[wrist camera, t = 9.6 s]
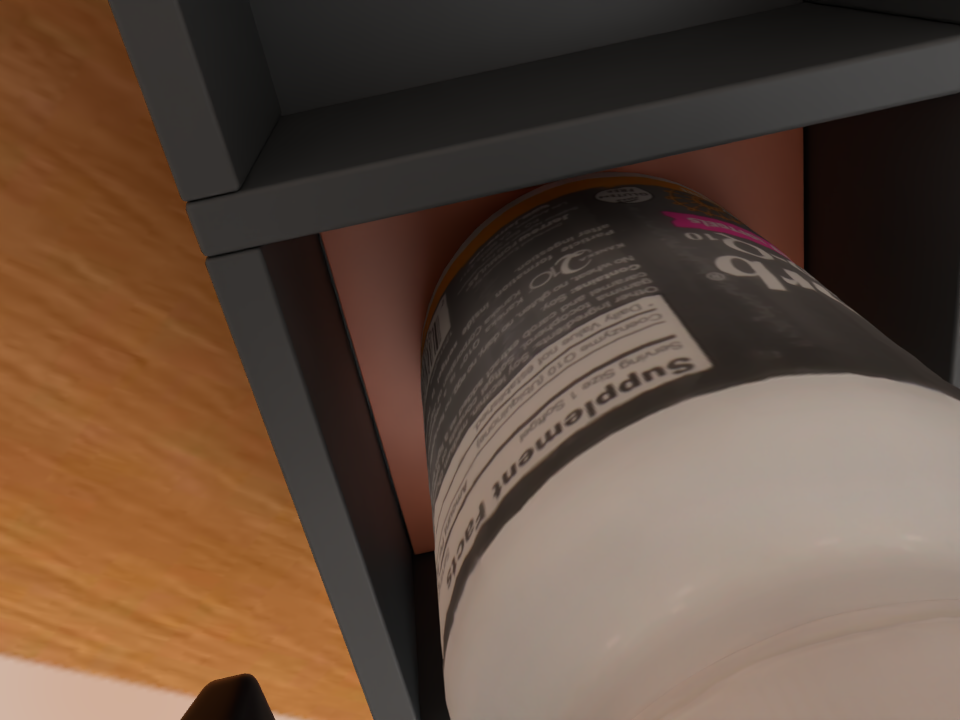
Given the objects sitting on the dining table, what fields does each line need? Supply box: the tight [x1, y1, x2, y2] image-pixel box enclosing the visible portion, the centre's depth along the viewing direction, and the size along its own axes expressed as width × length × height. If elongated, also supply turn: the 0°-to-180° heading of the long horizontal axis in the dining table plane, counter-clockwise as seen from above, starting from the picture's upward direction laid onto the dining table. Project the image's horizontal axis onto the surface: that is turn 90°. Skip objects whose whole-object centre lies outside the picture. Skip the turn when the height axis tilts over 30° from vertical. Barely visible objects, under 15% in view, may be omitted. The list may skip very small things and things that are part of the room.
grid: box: [108, 0, 960, 720], centre depth 10 cm, size 17×17×4 cm
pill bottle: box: [421, 172, 960, 720], centre depth 9 cm, size 6×6×10 cm
